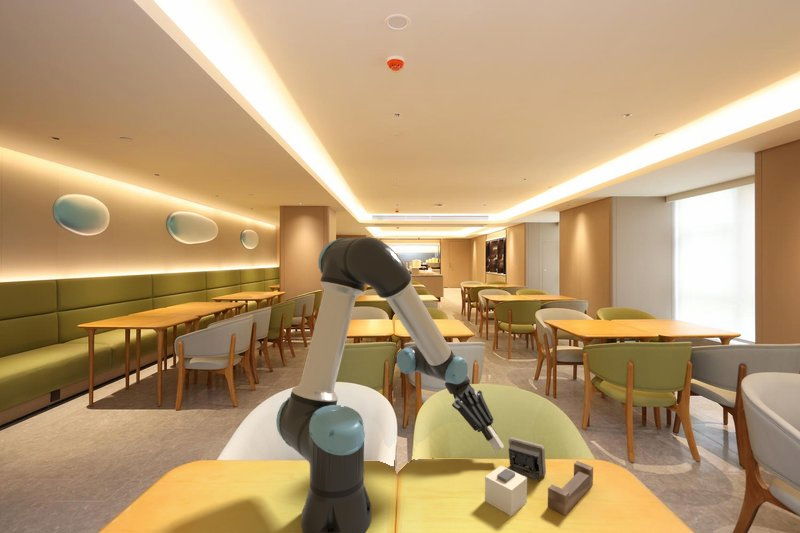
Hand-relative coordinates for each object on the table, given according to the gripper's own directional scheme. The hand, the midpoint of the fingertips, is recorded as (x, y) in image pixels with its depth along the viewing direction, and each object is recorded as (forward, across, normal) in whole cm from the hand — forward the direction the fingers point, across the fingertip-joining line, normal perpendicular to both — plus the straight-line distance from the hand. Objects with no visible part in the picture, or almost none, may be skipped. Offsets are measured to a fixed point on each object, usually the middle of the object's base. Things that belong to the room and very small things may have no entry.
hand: (499, 449), depth 105 cm
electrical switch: (+9, 0, -3) cm, 9 cm away
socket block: (+10, -14, -5) cm, 18 cm away
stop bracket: (+17, 0, -12) cm, 21 cm away
